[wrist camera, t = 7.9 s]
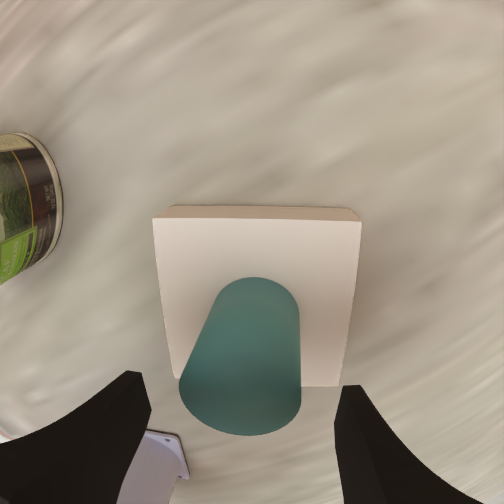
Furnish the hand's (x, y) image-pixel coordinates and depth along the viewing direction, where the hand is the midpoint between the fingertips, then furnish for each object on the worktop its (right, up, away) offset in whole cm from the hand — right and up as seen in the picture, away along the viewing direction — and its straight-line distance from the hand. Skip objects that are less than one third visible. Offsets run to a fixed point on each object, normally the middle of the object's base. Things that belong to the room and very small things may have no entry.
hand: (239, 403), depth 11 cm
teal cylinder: (+1, +2, +6) cm, 6 cm away
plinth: (+1, +3, +9) cm, 9 cm away
